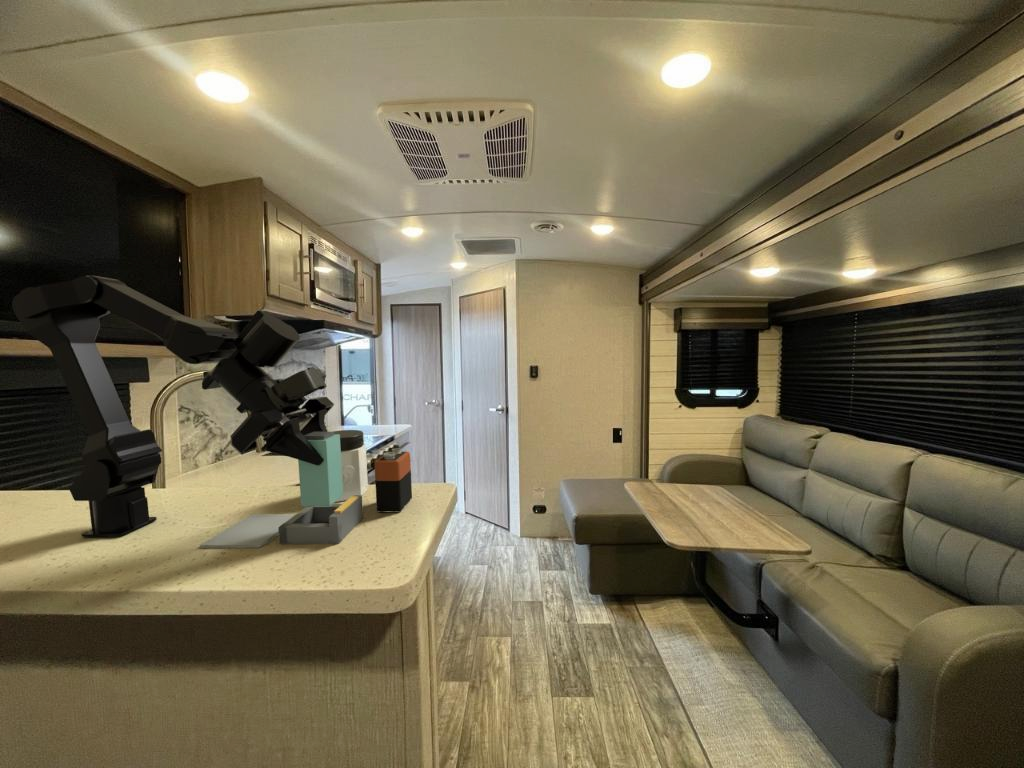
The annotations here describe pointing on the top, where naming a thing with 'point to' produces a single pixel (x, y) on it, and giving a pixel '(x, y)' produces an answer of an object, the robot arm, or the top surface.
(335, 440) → the plug
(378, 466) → the battery
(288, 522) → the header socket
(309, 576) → the top surface
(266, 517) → the mat
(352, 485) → the jar
